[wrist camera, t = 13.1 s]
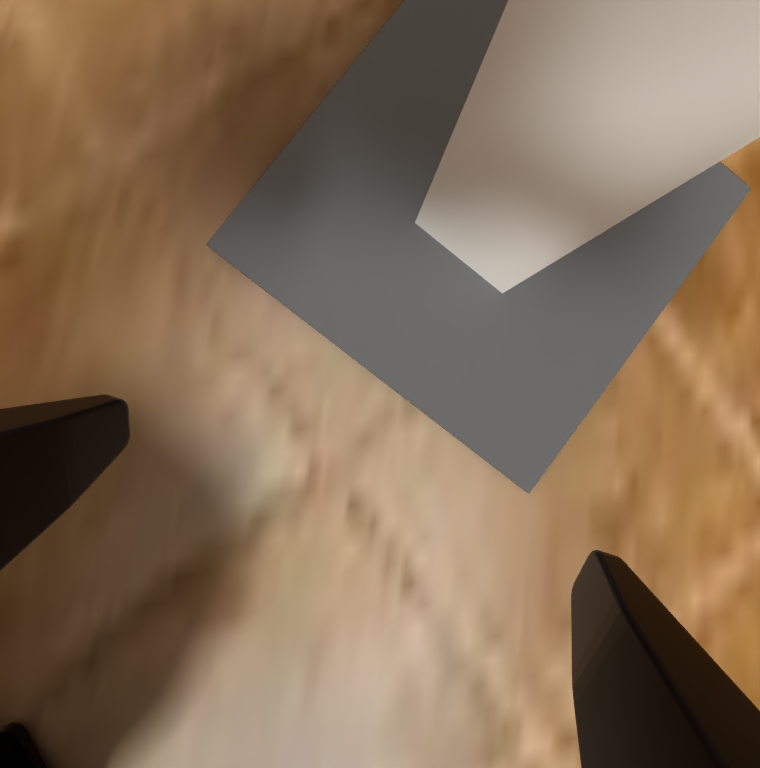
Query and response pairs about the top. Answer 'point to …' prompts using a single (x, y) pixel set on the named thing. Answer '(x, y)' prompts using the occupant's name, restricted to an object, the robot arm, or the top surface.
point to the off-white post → (589, 124)
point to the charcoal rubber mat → (440, 266)
